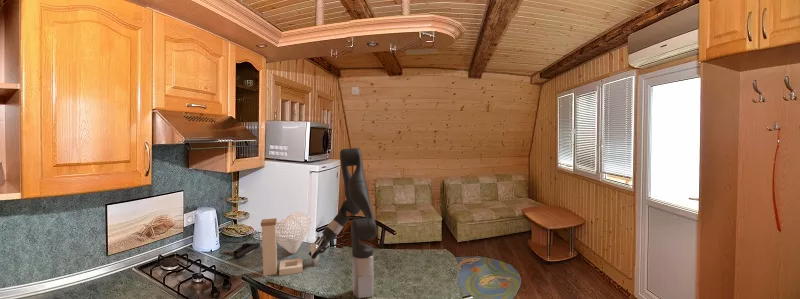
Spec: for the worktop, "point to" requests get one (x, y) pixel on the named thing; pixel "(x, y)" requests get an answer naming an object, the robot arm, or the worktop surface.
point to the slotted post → (275, 252)
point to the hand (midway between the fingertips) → (311, 256)
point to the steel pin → (313, 248)
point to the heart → (290, 218)
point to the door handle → (244, 250)
